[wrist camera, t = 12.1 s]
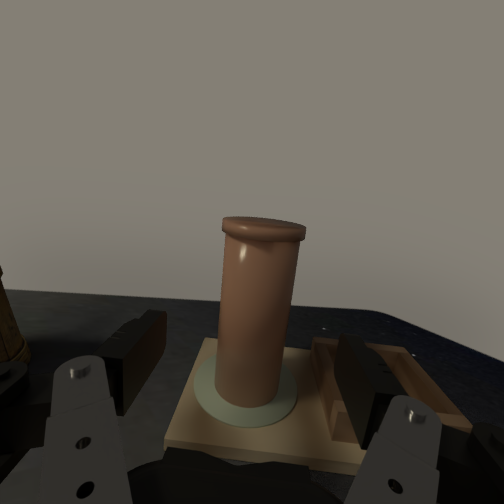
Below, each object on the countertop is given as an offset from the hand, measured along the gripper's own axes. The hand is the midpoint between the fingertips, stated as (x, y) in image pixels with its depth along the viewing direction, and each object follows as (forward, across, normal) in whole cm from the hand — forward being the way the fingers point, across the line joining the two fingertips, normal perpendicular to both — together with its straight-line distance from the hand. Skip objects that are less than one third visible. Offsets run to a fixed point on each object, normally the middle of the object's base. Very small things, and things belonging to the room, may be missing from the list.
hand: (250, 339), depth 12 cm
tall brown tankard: (+9, 0, +10) cm, 13 cm away
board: (+9, -6, +11) cm, 15 cm away
